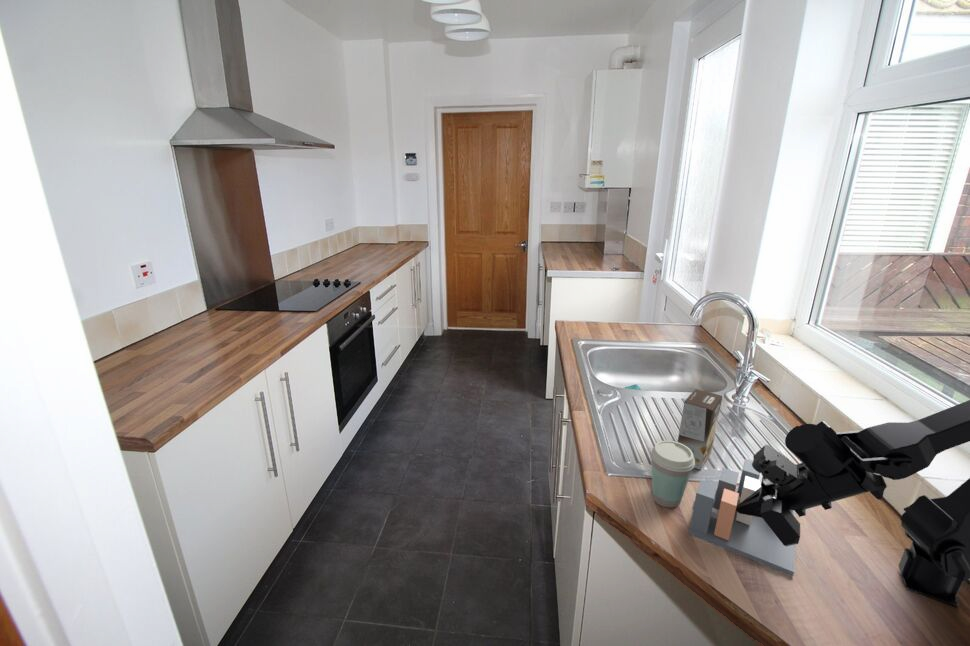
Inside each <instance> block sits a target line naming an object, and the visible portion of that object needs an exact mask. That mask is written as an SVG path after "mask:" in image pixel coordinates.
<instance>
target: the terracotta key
mask: <svg viewBox="0 0 970 646" xmlns="http://www.w3.org/2000/svg"><path fill="white" fill-rule="evenodd" d="M738 496H739V493H736V492H733V491H731V490H728V489H725V488H724V491H723V495H722V499H721V504H720V509H719V510H718V509H715V508H712V512H711V517H714V518H716V519H717V523H716V527H715V532H714V535H716V536H718V537H721V538H723V539H726V540H728V541H729V537H730V532H731V528H732V524H733V519H734V515H735V510H736V506H737V501H738ZM694 503H695V500H693V504H692V507H691V509H692V511H693V508H694Z"/></svg>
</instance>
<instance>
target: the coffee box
mask: <svg viewBox="0 0 970 646" xmlns="http://www.w3.org/2000/svg"><path fill="white" fill-rule="evenodd" d="M722 401H723V395H720V394H717V393H714V392H710V391H706V390H701V389H697V388H695V389H694V390H693V391H692V392H691V393H690V395H688V397H687V398H686V399H685V400H684V401H683V402H684V403H683V409H682V415H681V420H680V426H679V431H678V439H677V442H678V443H681V444H683V445H685V446H687V447H688V448H689V449H690V450H691V451H692V452H693V456H694V459H695V466H694V468H695V469H697V470H702V469H703V467H704V466H705V465H706V463H707V461H708V459H709V458H710V456H711V454H712V452H713V446H714V441H715V436H716V431H717V428H718V427H717V426H718V422H719V421H718V420H719V417H720V411H721V405H722ZM694 468H693V469H694Z"/></svg>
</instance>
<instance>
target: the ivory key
mask: <svg viewBox="0 0 970 646" xmlns="http://www.w3.org/2000/svg"><path fill="white" fill-rule="evenodd" d="M759 485H761V480H760V479H759V480H758V479H754V478H751V477H748V476H745V480H744V485H743V489H742V494H741V496H738V501H737V504H739V503H741V502H742V501H744V500H745V499H746V498H748V497H749V496H750V495H752V494H753V493H754V492H755V491H757V490H758V489H759ZM716 493H717V491H716ZM715 497H716V496H715ZM751 520H752V516H750V515H745V514H740V513H738V512H737V517H736V521H739V522H742V523H745V524H747V525H751Z"/></svg>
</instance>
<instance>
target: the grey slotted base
mask: <svg viewBox="0 0 970 646" xmlns="http://www.w3.org/2000/svg"><path fill="white" fill-rule="evenodd" d="M752 463H753V459H748V458H744V460H743V465H742V466H743V467H742V471H741V475H740V479H739V474H740V472H738V471H735V470H733V469H732V470H731V469H729V468H725V467H721V472H720V475H719V480H718V481H715V480H713V479H711V478H707V477H705V479H704V480H703V479H700V481H699V484H698V485H697V486H698V487H697V489H696V492H695V499H694V501H695V503H694V502H693V503H694V508H693V510H692V514H691V519H690V520H691V521H690V525H689V530H688V535H689V534H690V536H692V537H694V538H697V539H699V540H702V541H704V542H707V543H709V544H712V545H714V546H717V547H719V548H722V549H723V550H726V551H729V552H731V553H734V554H737V555H739V556H741V557H744V558H746V559H749V560H752V562H756V563H759V564H760V565H764V566H766V567H767V568H768V567H769V568H770V569H773V570H776V571H778V572H780V573H783V574H786V575H788V576H790V577H794V574H795V557H796V555H795V552H796V551H795V549H796V544H794V545H790V546H784V545H783V544H782V542H781V541H780V540H779V539H778V537H777V536H776V535H775V533H774V532H773V531H772V530H771V528H770V527H769V526H768V524H767V523H766V522H765V521H764V519H763V518H761V517H756V516H752V520H751V525H747V524H745V523H742V522H739V521H736V517H737V510H735V515H734V519H733V524H732V528H731V532H730V537H729V541H728V540H726V539H723V538H721V537H718V536H716V535H714V532H715V527H716V523H717V519H716V518H714V517H711V512H712V508H715V509H718V510H719V509H720V504H721V499H722V495H723V491H724V488H725V489H728V490H731V491H733V492H736V493H739V496H741V494H742V489H743V485H744V480H745V476H748V477H751V478H754V479H758V480H760V477H761V473H759V472H757V471H756V470H755V469H754V468H753V466H752ZM738 480H739V484H738ZM737 484H738V488H737ZM716 491H717V493H716ZM715 496H716V497H715ZM737 505H738V504H737ZM793 512H794V517H795V518H796V519H797V517H796V515H797V513H796V512H795V511H794V510H793Z"/></svg>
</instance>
